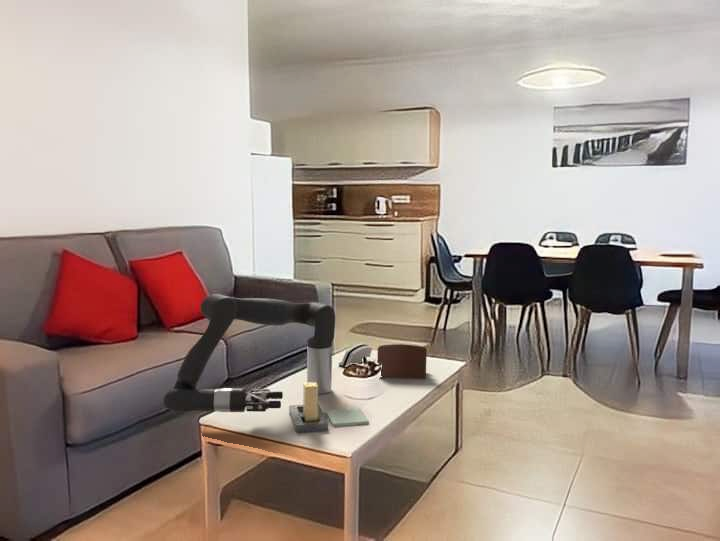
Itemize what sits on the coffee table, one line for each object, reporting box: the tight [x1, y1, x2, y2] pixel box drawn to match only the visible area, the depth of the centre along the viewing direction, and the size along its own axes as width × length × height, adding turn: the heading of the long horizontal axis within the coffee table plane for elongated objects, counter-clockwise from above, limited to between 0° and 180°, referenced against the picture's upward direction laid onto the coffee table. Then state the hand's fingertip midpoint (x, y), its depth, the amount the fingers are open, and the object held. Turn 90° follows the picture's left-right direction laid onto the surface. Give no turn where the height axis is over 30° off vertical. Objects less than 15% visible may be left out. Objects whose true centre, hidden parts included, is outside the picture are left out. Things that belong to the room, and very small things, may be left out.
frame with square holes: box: [288, 403, 329, 434], centre depth 203 cm, size 18×10×2 cm, turn 14°
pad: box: [325, 407, 370, 428], centre depth 206 cm, size 12×12×1 cm
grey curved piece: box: [338, 342, 373, 367], centre depth 270 cm, size 17×5×10 cm, turn 144°
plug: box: [302, 382, 319, 423], centre depth 198 cm, size 4×4×14 cm
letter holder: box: [376, 343, 428, 380], centre depth 255 cm, size 10×20×14 cm, turn 87°
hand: (281, 399), depth 197 cm, fingers open, 8 cm apart
